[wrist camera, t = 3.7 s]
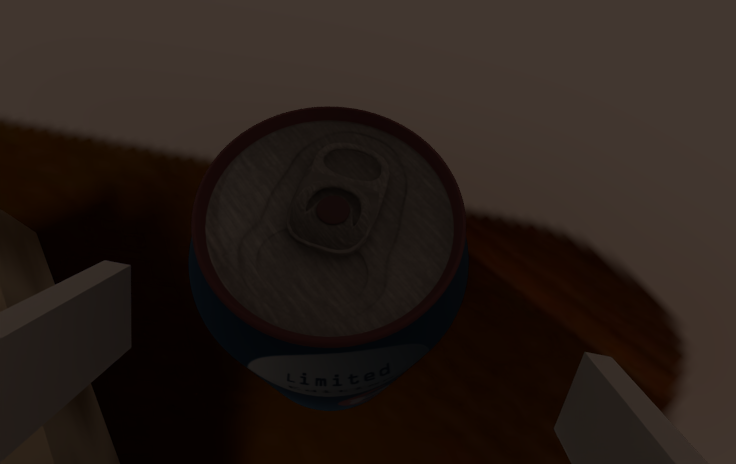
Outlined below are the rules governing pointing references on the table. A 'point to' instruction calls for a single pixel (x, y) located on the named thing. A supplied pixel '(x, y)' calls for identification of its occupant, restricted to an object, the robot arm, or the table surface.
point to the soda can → (328, 253)
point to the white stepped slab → (82, 414)
